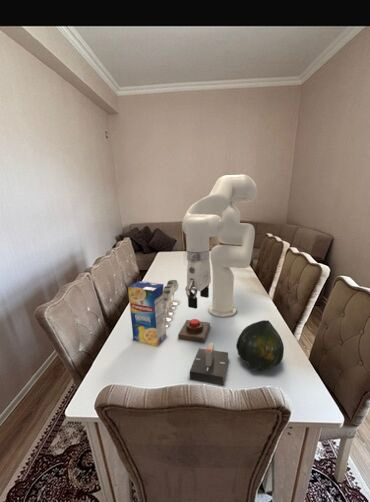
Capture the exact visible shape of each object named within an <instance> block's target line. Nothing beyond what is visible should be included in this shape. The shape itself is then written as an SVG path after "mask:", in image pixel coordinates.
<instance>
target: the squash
mask: <svg viewBox="0 0 370 502" xmlns="http://www.w3.org/2000/svg"><path fill="white" fill-rule="evenodd" d="M235 349H236V351H237V355H238V356H239V357H240V359H241V360H242V361H243V362H245V363H247V365H248V367H249V369H251V370H253V371H256V370H263V371H264V372H265V371H269V370H270V369H272V368H273V367H277V366H278V365H279V364H280V363H282V360H283V358H284V351H285V347H284V342H283V339H282V337H281V335H280V334H279V332H278V331H277V329H276V328H275V327H274V325H273V323H271V321H270V320H265V319H264V320H260V321H256V322H253V323H251V324H249V325H247V326H246V327H244V329H242V331H241V333H240V334H239V336H238V337H237V341H236V345H235Z"/></svg>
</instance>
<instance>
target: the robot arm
mask: <svg viewBox="0 0 370 502" xmlns="http://www.w3.org/2000/svg"><path fill="white" fill-rule="evenodd" d="M257 196H258V187H257V184H256V183H255V181H254V180H253V179H252V177H251V176H249V175H247V174H230V175H229V174H228V175H222V176H220V177H219V178H217V180H216V181H215V183H214V185H213V187H212V189H211V191H210V192H209V194H208V195H207V196H204V197H203V198H201V199H199V200H197V201H196V202H194V203H193V204H192V205H190V207H189V208H188V209H187V210H186V212H185V214H184V216H183V218H182V222H181V228H182V231H183V233H184V234H185V240H186V243H185V244H186V260H187V268H186V286H185V288H184V290H185V293H186V294H185V295H186V297H187V304H188V305H187V306H188V308H191V309H198V297H197V294H198V292H199V295H200V297H201V298H206V299H209V298H210V288H209V287H210V284H211V282H212V303H211V304H212V305H210V306H209V308H208V309H209V310H208V311H209V313H210V314H211V315H213V316H215V317H220V318H227V317H232V316H234V315H235V314H236V313H237V308H236V307H235V306H234V283H235V282H234V281H235V277H234V273H233V271H232V269H247V268H249V266H250V264H251V262H252V255H253V251H254V243H255V236H256V230H255V227H254V225H253V224H251V223H247V222H241V217H242V214H241V211H240V210H239V208H238V207H237V206H236V205H235V204H236V203H237V204H239V203H244V204H245V203H253V202H255V200H256V198H257ZM234 203H235V204H234ZM220 213H221V216H220V215H217V214H220ZM215 237H217V239H218V241H219V243H222V244H217V245H215V246H213V247H212V248H211V250H210V238H215ZM210 261H211V262H210ZM211 268H212V269H211ZM211 270H212V274H211Z"/></svg>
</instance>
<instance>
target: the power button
mask: <svg viewBox="0 0 370 502" xmlns="http://www.w3.org/2000/svg"><path fill="white" fill-rule="evenodd" d="M189 320H190V326H192V327H197V326H199V321H200V320H199V319H197V318H192V319H189Z"/></svg>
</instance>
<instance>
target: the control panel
mask: <svg viewBox="0 0 370 502" xmlns="http://www.w3.org/2000/svg"><path fill="white" fill-rule="evenodd" d="M206 350H207V348H201V347H200V348H198V350H197V352H196V355H195V356H194V359H193V362H192V363H191V364H192V365H191V367H190V369H189V380H191V381H197V382H202V383H207V384H212V385H219V386H224V384H225V377H226V374H227V368H228V362H229V352H228V351H220V350H214V358H213V362H212V365H211V366H206Z"/></svg>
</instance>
